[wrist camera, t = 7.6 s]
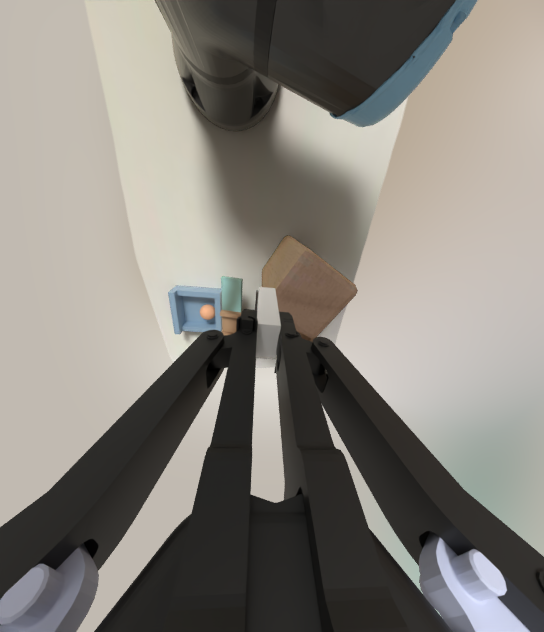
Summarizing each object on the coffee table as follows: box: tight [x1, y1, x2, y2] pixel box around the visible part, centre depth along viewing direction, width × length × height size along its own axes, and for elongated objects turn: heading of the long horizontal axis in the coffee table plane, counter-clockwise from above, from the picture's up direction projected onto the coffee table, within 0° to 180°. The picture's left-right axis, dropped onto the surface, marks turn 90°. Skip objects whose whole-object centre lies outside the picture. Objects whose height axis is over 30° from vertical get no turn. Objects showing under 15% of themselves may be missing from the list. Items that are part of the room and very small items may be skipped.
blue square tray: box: [168, 285, 222, 334], centre depth 45 cm, size 10×10×4 cm
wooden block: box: [262, 235, 357, 338], centre depth 34 cm, size 10×10×20 cm
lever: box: [220, 276, 316, 342], centre depth 39 cm, size 20×13×4 cm, turn 84°
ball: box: [200, 304, 215, 320], centre depth 45 cm, size 4×4×4 cm
